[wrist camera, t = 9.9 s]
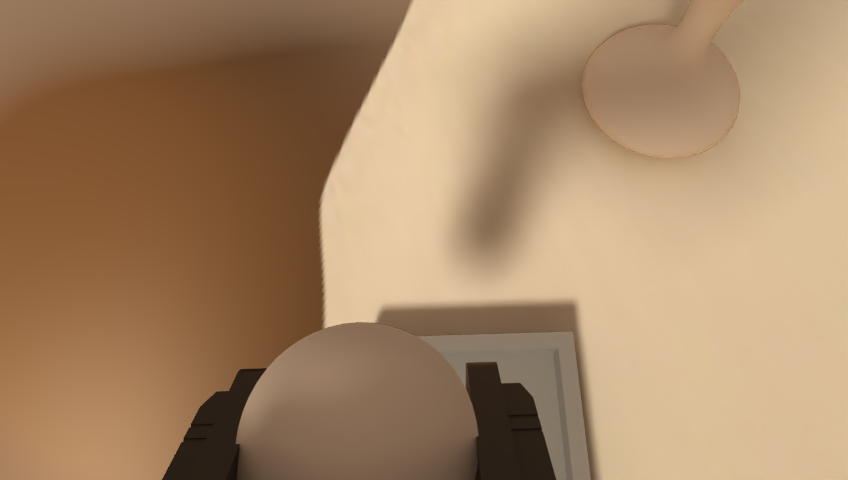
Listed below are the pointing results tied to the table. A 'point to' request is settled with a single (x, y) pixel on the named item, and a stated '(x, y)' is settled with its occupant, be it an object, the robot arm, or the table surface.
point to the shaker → (358, 411)
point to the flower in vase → (665, 85)
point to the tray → (533, 385)
